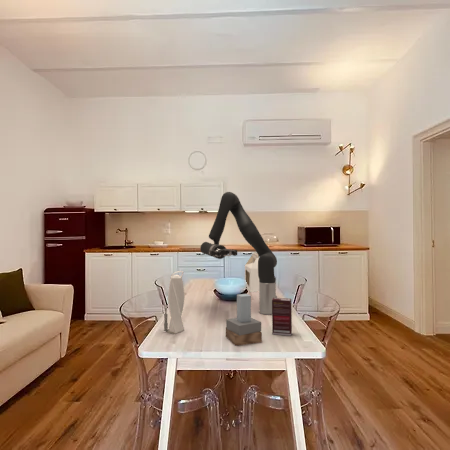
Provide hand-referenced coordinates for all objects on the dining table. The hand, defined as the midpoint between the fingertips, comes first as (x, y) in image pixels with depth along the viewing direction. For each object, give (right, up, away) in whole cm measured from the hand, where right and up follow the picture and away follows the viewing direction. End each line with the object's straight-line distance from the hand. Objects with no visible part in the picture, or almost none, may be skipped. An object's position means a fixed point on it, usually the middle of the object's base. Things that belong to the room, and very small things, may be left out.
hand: (227, 253), depth 170 cm
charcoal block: (+7, -31, -23) cm, 39 cm away
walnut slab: (+7, -35, -23) cm, 43 cm away
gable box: (+22, -35, +88) cm, 98 cm away
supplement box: (+25, -35, -16) cm, 46 cm away
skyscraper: (-24, -36, -12) cm, 45 cm away
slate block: (+7, -27, -23) cm, 36 cm away
